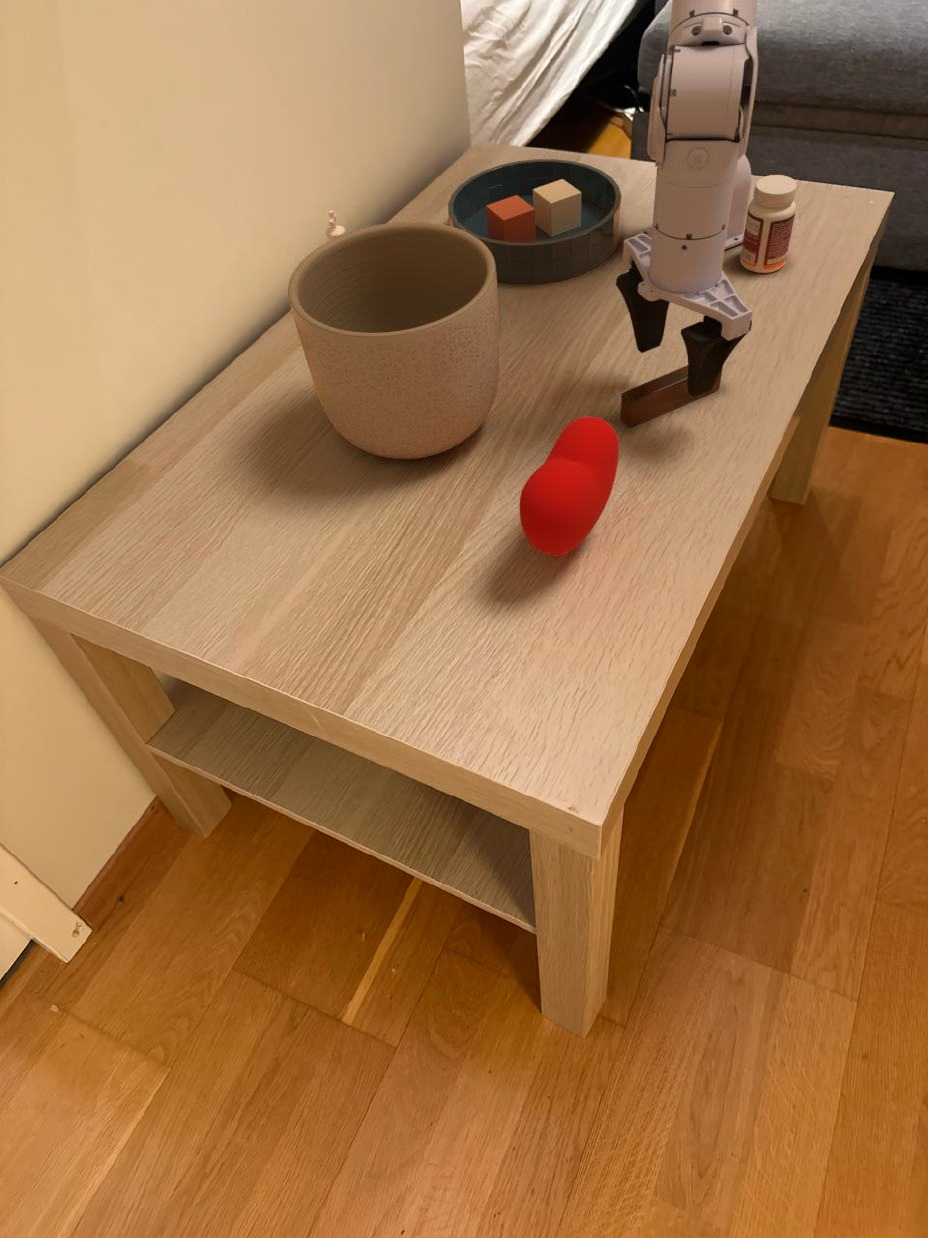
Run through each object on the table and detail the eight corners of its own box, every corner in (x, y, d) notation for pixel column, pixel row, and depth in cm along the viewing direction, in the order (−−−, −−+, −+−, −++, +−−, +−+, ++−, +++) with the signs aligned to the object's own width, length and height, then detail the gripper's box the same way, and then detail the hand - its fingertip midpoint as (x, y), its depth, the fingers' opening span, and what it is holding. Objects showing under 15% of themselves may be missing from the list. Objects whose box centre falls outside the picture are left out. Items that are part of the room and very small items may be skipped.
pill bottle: (787, 252, 97) (804, 173, 90) (782, 276, 94) (798, 197, 87) (742, 248, 98) (755, 170, 91) (736, 271, 95) (748, 193, 89)
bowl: (562, 180, 111) (562, 143, 107) (653, 246, 100) (656, 207, 96) (424, 229, 106) (419, 192, 103) (503, 304, 95) (500, 264, 92)
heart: (570, 488, 77) (570, 393, 69) (629, 506, 75) (636, 411, 67) (507, 582, 71) (500, 489, 63) (569, 604, 69) (569, 512, 61)
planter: (476, 497, 77) (460, 346, 65) (297, 470, 81) (252, 324, 70) (525, 377, 87) (519, 227, 75) (364, 359, 91) (334, 214, 79)
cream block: (562, 212, 105) (562, 178, 102) (581, 226, 103) (581, 191, 99) (533, 223, 104) (532, 188, 101) (551, 237, 102) (550, 202, 99)
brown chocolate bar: (708, 380, 84) (712, 353, 82) (719, 389, 83) (723, 362, 81) (619, 419, 82) (621, 392, 80) (629, 428, 81) (631, 402, 79)
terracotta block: (518, 228, 104) (516, 194, 100) (536, 243, 101) (535, 208, 98) (488, 239, 103) (485, 205, 99) (505, 254, 100) (503, 219, 97)
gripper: (594, 199, 72) (591, 344, 83) (706, 279, 64) (686, 429, 74) (667, 173, 74) (654, 318, 84) (785, 247, 65) (754, 398, 76)
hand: (673, 368), depth 80 cm, fingers open, 7 cm apart
